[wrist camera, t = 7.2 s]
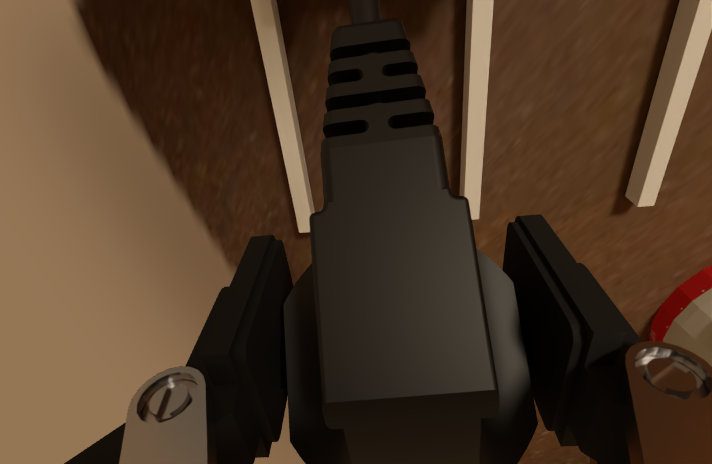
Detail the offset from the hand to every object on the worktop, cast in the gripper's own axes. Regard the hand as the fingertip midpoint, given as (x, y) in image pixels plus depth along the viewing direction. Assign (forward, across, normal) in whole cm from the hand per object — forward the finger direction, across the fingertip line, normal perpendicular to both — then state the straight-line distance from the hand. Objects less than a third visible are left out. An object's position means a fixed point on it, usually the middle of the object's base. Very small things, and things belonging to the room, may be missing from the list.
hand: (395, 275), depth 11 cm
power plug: (+2, 0, -2) cm, 3 cm away
